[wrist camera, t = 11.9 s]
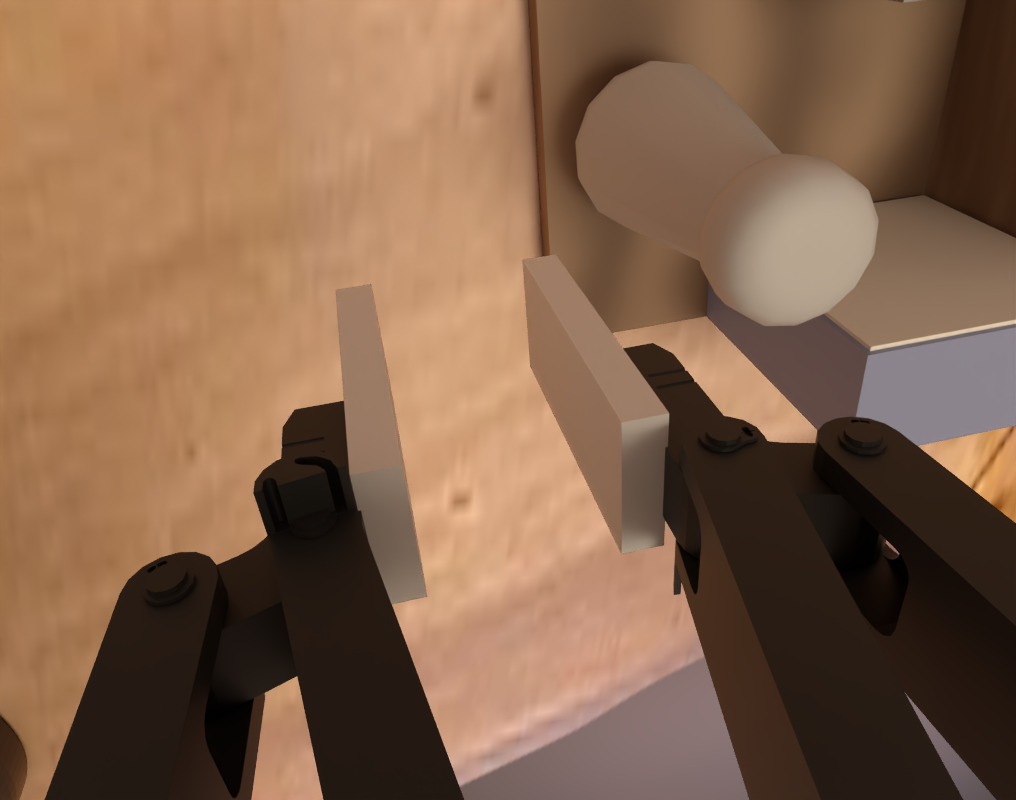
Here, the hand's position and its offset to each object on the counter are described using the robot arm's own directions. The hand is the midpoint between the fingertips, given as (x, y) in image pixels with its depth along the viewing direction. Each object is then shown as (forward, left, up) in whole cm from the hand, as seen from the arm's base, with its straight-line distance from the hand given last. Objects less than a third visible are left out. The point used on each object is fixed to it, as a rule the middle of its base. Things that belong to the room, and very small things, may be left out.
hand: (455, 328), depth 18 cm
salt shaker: (+9, 0, -14) cm, 16 cm away
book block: (+17, -6, -13) cm, 23 cm away
